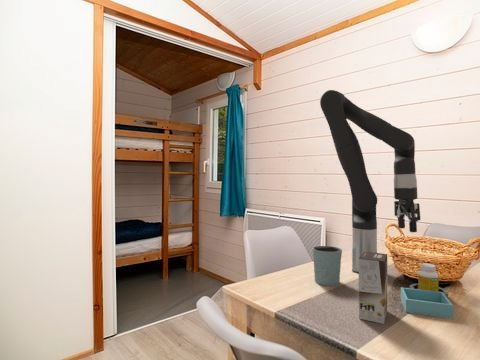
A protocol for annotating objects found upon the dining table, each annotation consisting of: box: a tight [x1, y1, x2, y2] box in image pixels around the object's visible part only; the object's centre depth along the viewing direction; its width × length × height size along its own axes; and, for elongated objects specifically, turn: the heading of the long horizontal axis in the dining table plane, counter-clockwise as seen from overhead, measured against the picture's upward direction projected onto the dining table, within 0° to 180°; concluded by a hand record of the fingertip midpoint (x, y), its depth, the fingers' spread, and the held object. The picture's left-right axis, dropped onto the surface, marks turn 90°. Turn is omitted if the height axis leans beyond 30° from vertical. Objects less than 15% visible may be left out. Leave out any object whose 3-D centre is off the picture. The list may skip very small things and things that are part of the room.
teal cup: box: [312, 245, 343, 287], centre depth 107 cm, size 10×10×12 cm
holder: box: [408, 283, 449, 299], centre depth 94 cm, size 10×10×2 cm
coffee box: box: [358, 252, 388, 325], centre depth 81 cm, size 9×6×16 cm
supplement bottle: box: [417, 262, 439, 292], centre depth 94 cm, size 5×5×10 cm
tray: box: [400, 287, 454, 319], centre depth 85 cm, size 11×10×4 cm
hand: (407, 230), depth 110 cm, fingers open, 8 cm apart
